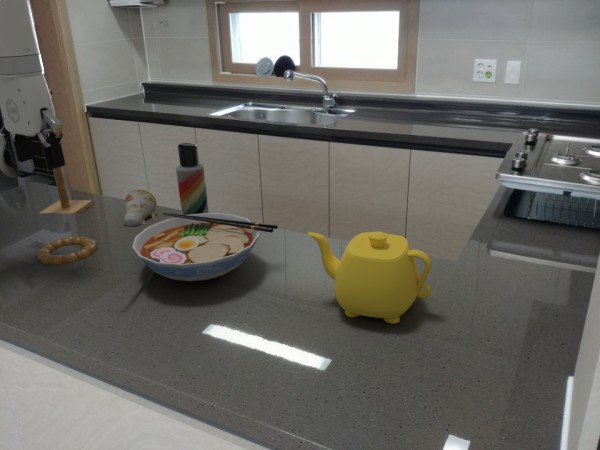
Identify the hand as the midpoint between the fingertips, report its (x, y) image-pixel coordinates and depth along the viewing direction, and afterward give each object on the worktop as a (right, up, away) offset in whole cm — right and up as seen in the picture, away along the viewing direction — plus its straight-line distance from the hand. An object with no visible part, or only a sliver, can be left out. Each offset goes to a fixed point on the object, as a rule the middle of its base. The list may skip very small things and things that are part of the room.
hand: (41, 163), depth 98 cm
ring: (0, -17, +10) cm, 20 cm away
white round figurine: (+10, -11, +26) cm, 30 cm away
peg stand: (-11, -8, +35) cm, 38 cm away
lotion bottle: (+25, -13, +20) cm, 34 cm away
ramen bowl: (+29, -20, +3) cm, 35 cm away
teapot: (+58, -24, -10) cm, 64 cm away
